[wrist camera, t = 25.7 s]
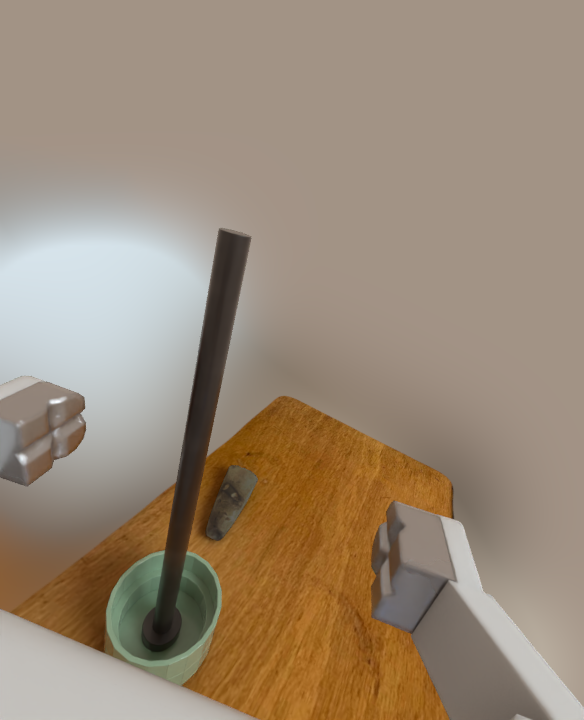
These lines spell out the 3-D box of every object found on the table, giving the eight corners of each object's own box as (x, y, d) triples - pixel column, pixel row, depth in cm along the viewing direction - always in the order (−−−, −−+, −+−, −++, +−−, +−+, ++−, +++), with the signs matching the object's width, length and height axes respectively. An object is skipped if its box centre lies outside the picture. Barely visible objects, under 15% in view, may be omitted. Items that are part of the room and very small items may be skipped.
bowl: (105, 726, 27) (108, 691, 25) (101, 600, 35) (104, 565, 32) (224, 668, 32) (235, 635, 30) (198, 570, 40) (206, 538, 38)
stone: (229, 471, 55) (231, 460, 54) (257, 480, 55) (260, 470, 54) (196, 539, 43) (199, 527, 42) (233, 551, 43) (236, 539, 42)
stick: (143, 659, 31) (212, 230, 16) (139, 618, 34) (194, 219, 19) (183, 642, 33) (278, 245, 18) (176, 605, 35) (253, 233, 21)
